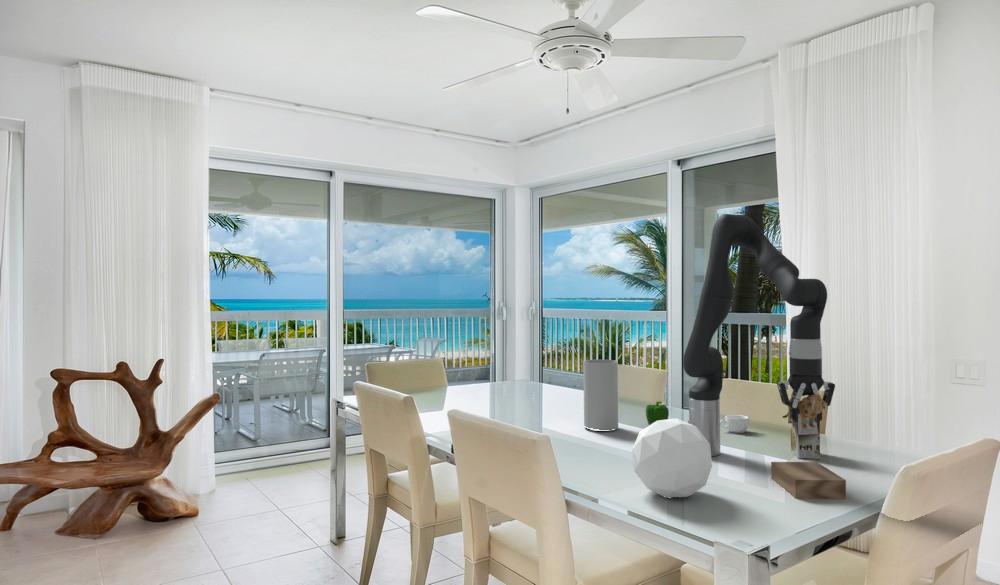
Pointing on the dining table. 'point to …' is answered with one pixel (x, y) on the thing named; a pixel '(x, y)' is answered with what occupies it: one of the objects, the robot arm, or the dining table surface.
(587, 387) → the cylinder vase
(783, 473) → the walnut block
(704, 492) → the dining table surface
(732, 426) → the teacup
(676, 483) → the ball
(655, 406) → the bell pepper
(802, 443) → the coffee box
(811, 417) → the lion figurine
